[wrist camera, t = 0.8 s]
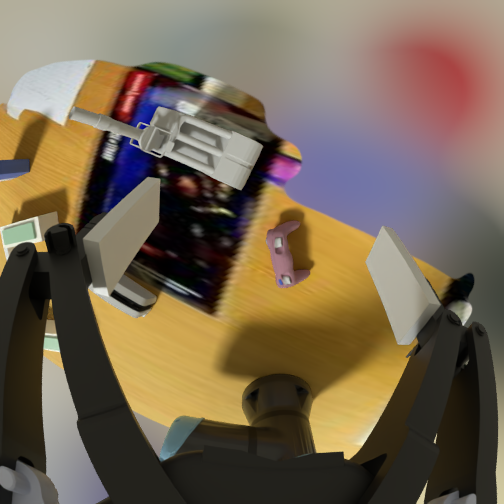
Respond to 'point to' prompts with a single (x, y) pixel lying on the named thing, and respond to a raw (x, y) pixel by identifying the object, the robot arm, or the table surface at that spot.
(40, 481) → the robot arm
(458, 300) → the table surface
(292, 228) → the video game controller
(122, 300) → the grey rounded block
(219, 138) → the fuel canister
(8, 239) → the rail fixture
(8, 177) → the walkman
